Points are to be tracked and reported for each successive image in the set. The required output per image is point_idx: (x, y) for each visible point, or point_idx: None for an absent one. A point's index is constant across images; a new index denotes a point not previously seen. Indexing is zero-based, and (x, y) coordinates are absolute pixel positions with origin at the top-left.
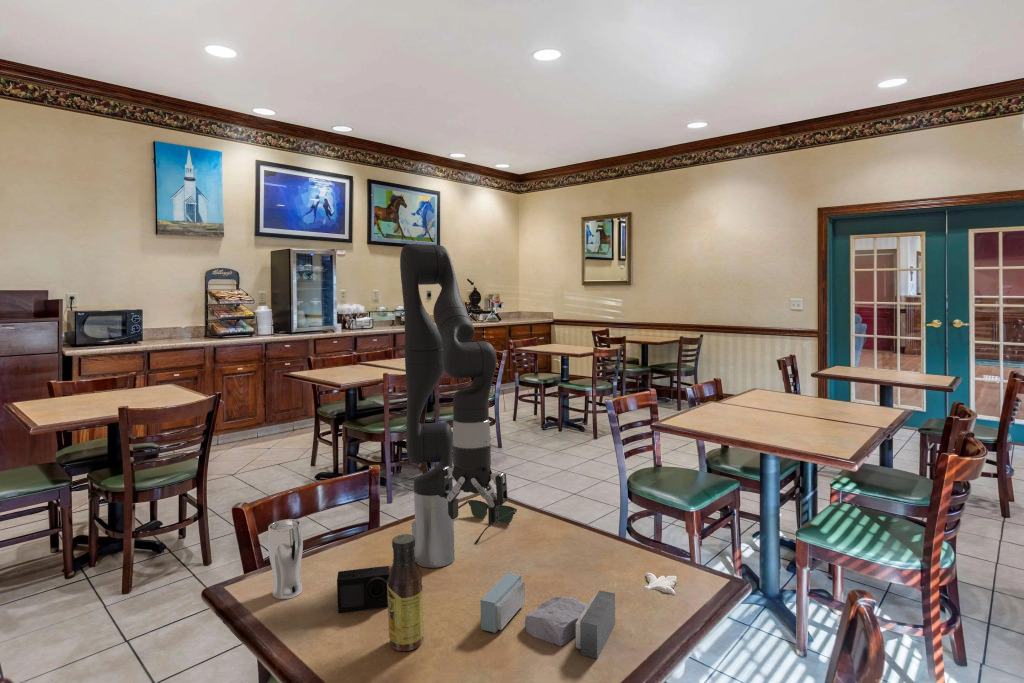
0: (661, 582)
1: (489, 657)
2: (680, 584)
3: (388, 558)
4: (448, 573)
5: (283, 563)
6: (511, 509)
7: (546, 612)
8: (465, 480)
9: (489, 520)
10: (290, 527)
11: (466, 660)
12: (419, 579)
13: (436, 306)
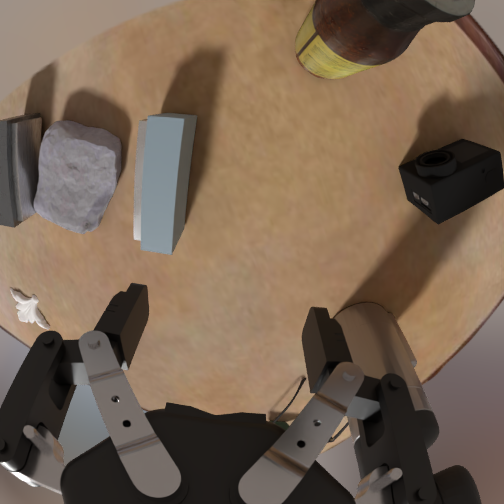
0: (26, 309)
1: (157, 48)
2: (17, 310)
3: (426, 312)
4: (326, 294)
5: None
6: None
7: (80, 166)
8: (239, 482)
9: (135, 294)
10: None
11: (194, 28)
12: (322, 2)
13: None
